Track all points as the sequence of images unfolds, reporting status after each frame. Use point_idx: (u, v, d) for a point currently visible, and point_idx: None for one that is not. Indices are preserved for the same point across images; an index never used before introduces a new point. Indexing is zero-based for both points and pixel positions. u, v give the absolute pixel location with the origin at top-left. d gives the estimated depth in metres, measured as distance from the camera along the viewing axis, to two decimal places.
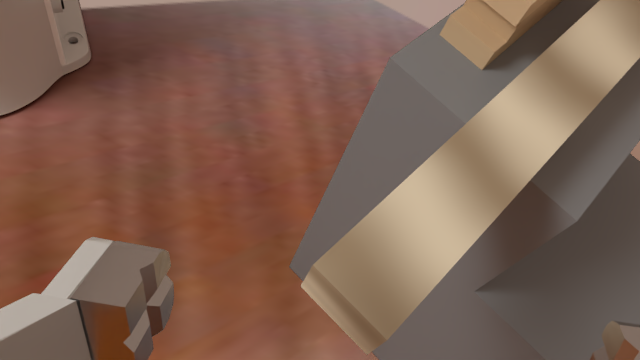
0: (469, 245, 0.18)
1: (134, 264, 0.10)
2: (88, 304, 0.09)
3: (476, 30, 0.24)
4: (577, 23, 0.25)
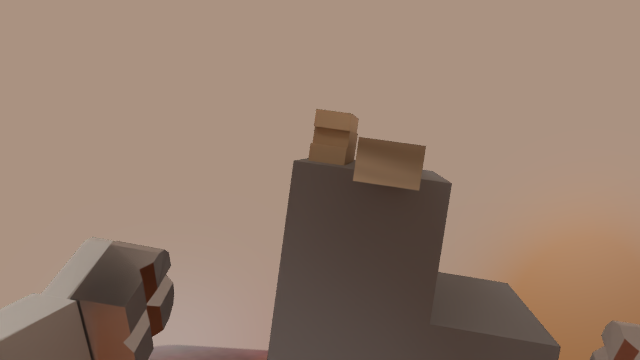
0: None
1: (134, 264, 0.10)
2: (88, 304, 0.09)
3: (329, 145, 0.39)
4: None
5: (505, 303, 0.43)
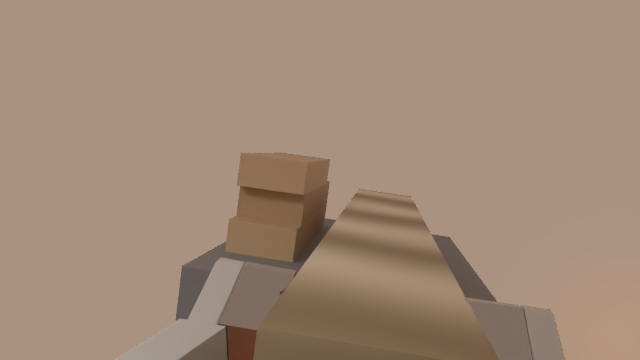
0: (455, 284, 0.11)
1: (272, 287, 0.10)
2: (237, 330, 0.09)
3: (264, 223, 0.20)
4: (350, 203, 0.24)
5: None
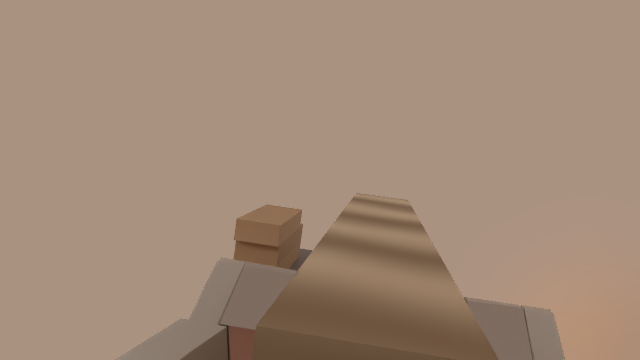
0: (453, 285, 0.11)
1: (273, 287, 0.10)
2: (238, 330, 0.09)
3: None
4: (347, 207, 0.24)
5: None
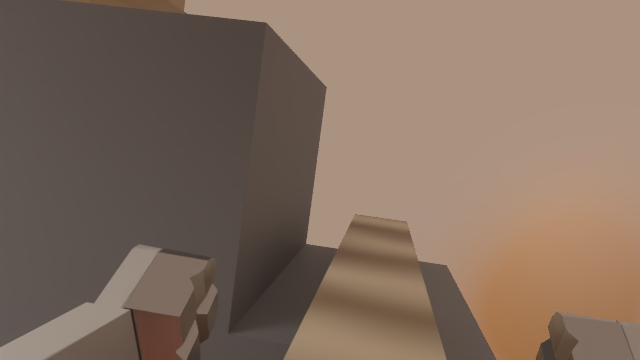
0: None
1: (184, 272, 0.10)
2: (142, 313, 0.09)
3: None
4: (345, 238, 0.24)
5: None
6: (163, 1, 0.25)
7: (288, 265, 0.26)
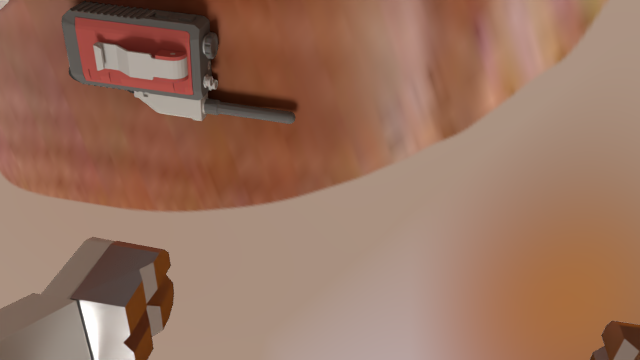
0: None
1: (134, 264, 0.10)
2: (88, 304, 0.09)
3: None
4: None
5: None
6: None
7: None
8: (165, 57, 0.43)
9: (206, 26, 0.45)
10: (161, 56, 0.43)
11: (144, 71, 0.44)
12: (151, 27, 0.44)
